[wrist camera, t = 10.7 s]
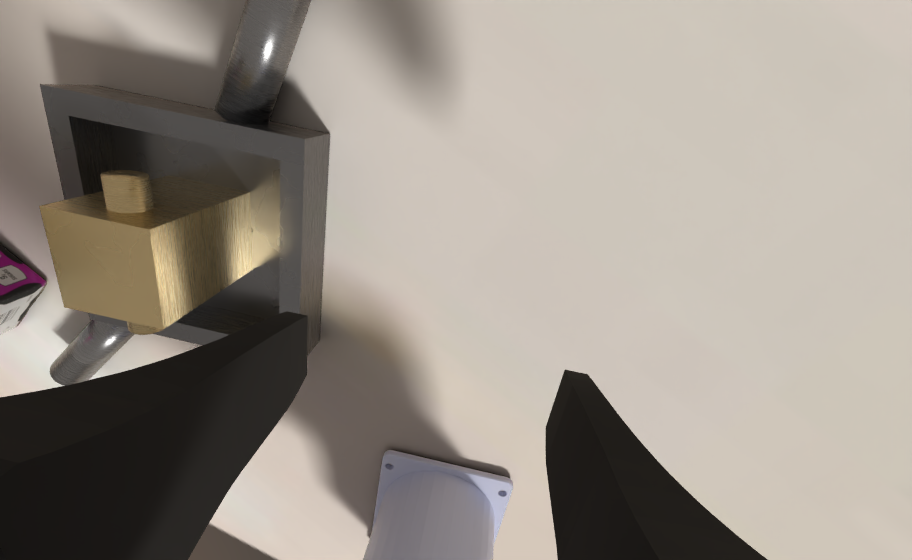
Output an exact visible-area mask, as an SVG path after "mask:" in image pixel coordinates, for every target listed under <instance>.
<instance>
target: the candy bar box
mask: <svg viewBox="0 0 912 560" xmlns="http://www.w3.org/2000/svg"><path fill="white" fill-rule="evenodd" d="M46 284H47V282H46V281H45V280H44V279H43V278H42V277H40V276H39V275H38V274H36V273H35V272H34V271H33V270H32V269H30V268H29V267H28V266H27V265H25V264H24V263H23V262H21V261H20V260H19V259H18V258H16V257H15V256H14V255H13V254H12V253H10V252H9V251H8V250H7V249H5V248H4V247H3V246H2V245H0V334H2V333H4V332H6V331H9V330H11V329H13V328H15V327H17V326H18V325H19V324H20V322H21V321H22V319H23V318H24V317H25V315H26V314H27V312H28V310H29V308H30V307H31V306H32V304H33V303H34V302H35V301H36V299H37V298H38V297H39V295H40V294H41V293H42V291H43V289H44V288H45V286H46Z"/></svg>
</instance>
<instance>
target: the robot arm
mask: <svg viewBox="0 0 912 560" xmlns="http://www.w3.org/2000/svg"><path fill="white" fill-rule="evenodd" d="M307 328H308V316H307V315H302V314H297V313H293V312H288V311H286V312H283V313H280V314H278V315H275V316H273V317H270V318H268V319H265V320H263V321H261V322H258V323H256V324H254V325H251V326H249V327H247V328H244V329H242V330H240V331H237V332H235V333H233V334H230V335H228V336H225V337H223V338H221V339H218V340H216V341H213V342H211V343H208V344H205V345H203V346H200V347H197V348H195V349H192V350H190V351H187V352H184V353H182V354H179V355H176V356H173V357H170V358H167V359H164V360H161V361H158V362H155V363H152V364H149V365H145V366H142V367H138V368H135V369H132V370H128V371H125V372H121V373H117V374H113V375H109V376H105V377H100V378H96V379H92V380H88V381H84V382H80V383H75V384H71V385H67V386H62V387H57V388H52V389H46V390H41V391H36V392H30V393H25V394H19V395H13V396H7V397H1V398H0V560H188V558H189V557H190V555H191V553H192V551H193V549H194V548H195V546H196V544H197V543H198V541H199V539H200V537H201V536H202V534H203V532H204V530H205V529H206V527H207V525H208V523H209V522H210V520H211V519H212V517H213V515H214V514H215V512H216V510H217V509H218V507H219V505H220V504H221V502H222V500H223V499H224V497H225V495H226V494H227V492H228V490H229V489H230V487H231V486H232V484H233V483H234V481H235V480H236V479H237V477H238V476H239V474H240V473H241V471H242V470H243V469H244V467H245V466H246V465H247V463H248V462H249V461H250V459H251V458H252V457H253V455H254V454H255V453H256V451H257V450H258V448H259V447H260V446H261V444H262V443H263V442H264V440H265V439H266V438H267V436H268V435H269V434H270V432H271V431H272V430H273V428H274V427H275V426H276V424H277V423H278V421H279V420H280V419H281V417H282V416H283V415H284V413H285V412H286V410H287V409H288V408H289V406H290V405H291V403H292V401H293V399H294V398H295V396H296V394H297V392H298V391H299V389H300V387H301V385H302V383H303V381H304V379H305V377H306V375H307ZM388 463H389V464H388ZM390 464H392V465H390ZM546 467H547V476H548V484H549V492H550V499H551V507H552V514H553V522H554V530H555V537H556V545H557V555H558V560H767V559H766V558H765V557H763V556H762V555H761V554H759V553H758V552H757V551H756V550H754V549H753V548H752V547H751V546H749V545H748V544H747V543H746V542H744V541H743V540H742V539H741V538H739V537H738V536H737V535H736V534H735V533H733V532H732V531H731V530H730V529H729V528H728V527H726V526H725V525H724V524H723V523H722V522H721V521H719V520H718V519H717V518H716V517H715V516H714V515H712V514H711V513H710V512H709V511H708V510H707V509H706V508H705V507H703V506H702V505H701V504H700V503H699V502H698V501H697V500H696V499H695V498H694V497H693V496H692V495H691V494H690V493H689V492H688V491H686V490H685V489H684V488H683V487H682V486H681V485H680V484H679V483H678V482H677V481H676V480H675V479H674V478H673V477H672V476H671V475H670V474H669V473H668V472H667V471H666V470H665V469H664V468H663V466H662V465H661V464H660V463H659V462H658V461H657V460H656V459H655V458H654V457H653V455H652V454H651V453H650V452H649V451H648V450H647V449H646V448H645V446H644V445H643V444H642V443H641V442H640V441H639V440H638V438H637V437H636V436H635V435H634V434H633V432H632V431H631V430H630V429H629V427H628V426H627V425H626V424H625V422H624V421H623V420H622V419H621V417H620V416H619V415H618V414H617V412H616V411H615V410H614V408H613V407H612V406H611V404H610V403H609V402H608V400H607V399H606V398H605V397H604V395H603V394H602V393H601V391H600V390H599V389H598V387H597V386H596V385H595V383H594V382H593V381H592V379H591V378H590V377H589V376H588V374H583V373H578V372H574V371H569V370H565V371H564V374H563V377H562V380H561V383H560V386H559V389H558V392H557V395H556V398H555V401H554V404H553V407H552V410H551V413H550V416H549V419H548V422H547V425H546ZM501 490H503V491H501ZM512 490H513V482H512V480H511V479H510V478H507V477H504V476H500V475H495V474H491V473H487V472H483V471H478V470H474V469H470V468H466V467H462V466H457V465H453V464H449V463H445V462H440V461H436V460H432V459H428V458H423V457H419V456H415V455H411V454H406V453H402V452H398V451H394V450H388V451H386V452H385V453H384V456H383V458H382V465H381V472H380V479H379V486H378V493H377V499H376V506H375V513H374V520H373V527H372V534H371V537H370V540H369V543H368V546H367V549H366V552H365V555H364V558H363V560H493V547H494V543H495V540H496V537H497V534H498V531H499V528H500V525H501V522H502V519H503V516H504V513H505V510H506V507H507V504H508V501H509V498H510V496H511V493H512Z"/></svg>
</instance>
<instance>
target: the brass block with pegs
mask: <svg viewBox="0 0 912 560" xmlns="http://www.w3.org/2000/svg"><path fill="white" fill-rule="evenodd" d="M100 176H101V181H102V187H103V191H101V192H97V193H93V194H88V195H84V196H80V197H76V198H71V199H67V200H63V201H59V202H55V203H50V204H46V205H42V206H39V207H40V211H41V215H42V219H43V223H44V227H45V231H46V235H47V239H48V243H49V247H50V251H51V255H52V260H53V264H54V268H55V272H56V276H57V280H58V284H59V288H60V292H61V296H62V300H63V304H64V307H65V308H70V309H74V310H79V311H83V312H88V313H92V314H97V315H101V316H106V317H110V318H115V319H119V320H124V321H127V326H128V330H129V331H130V332H131V333H134V334H139V335H146V334H153V333H157V332H159V331H162V330H164V329H165V328H166V327H168V326H169V325H171V324H172V323H174V322H175V321H177V320H178V319H180V318H181V317H183V316H184V315H186V314H187V313H189V312H190V311H192V310H193V309H195V308H196V307H198V306H199V305H201V304H202V303H204V302H205V301H207V300H208V299H210V298H211V297H213V296H214V295H216V294H217V293H218V292H220V291H221V290H223V289H224V288H226V287H227V286H229V285H230V284H232V283H233V282H235V281H236V280H238V279H239V278H241V277H242V276H244V275H245V274H247V273H248V272H250V271H251V270H253V266H252V235H251V205H250V192H247V191H242V190H237V189H232V188H227V187H222V186H218V185H213V184H208V183H203V182H198V181H193V180H188V179H184V178H179V177H174V176H165V177H160V178H156V179H152V180H150V178H149V175H148V174H147V173H144V172H139V171H132V170H113V171H106V172H103V173H101V174H100Z"/></svg>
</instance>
